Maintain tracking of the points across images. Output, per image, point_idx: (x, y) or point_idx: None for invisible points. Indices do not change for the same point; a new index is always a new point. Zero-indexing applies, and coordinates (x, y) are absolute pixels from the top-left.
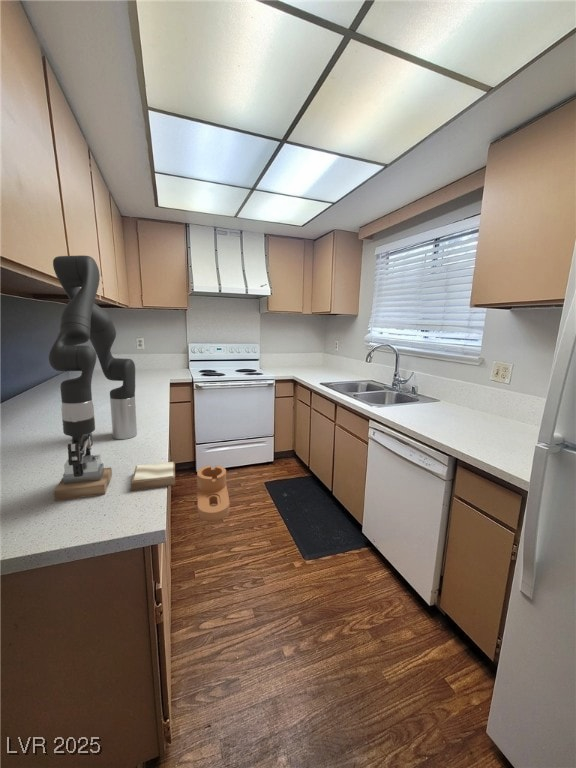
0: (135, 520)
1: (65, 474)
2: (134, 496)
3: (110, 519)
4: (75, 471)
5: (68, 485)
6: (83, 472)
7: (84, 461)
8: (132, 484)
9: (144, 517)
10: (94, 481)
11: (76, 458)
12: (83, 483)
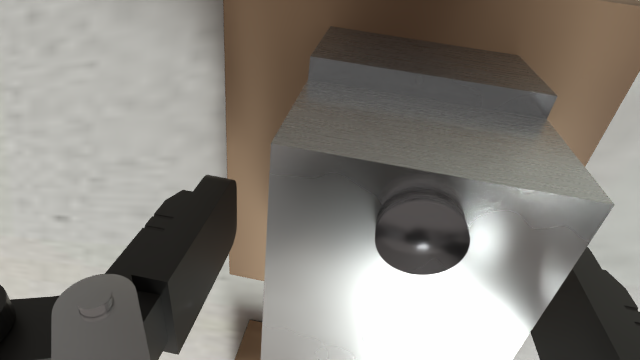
0: (25, 295)
1: (308, 84)
2: (196, 318)
3: (29, 232)
4: (148, 232)
5: (294, 68)
6: (226, 255)
7: (302, 342)
8: (239, 352)
9: None
10: None
11: (469, 283)
12: None
